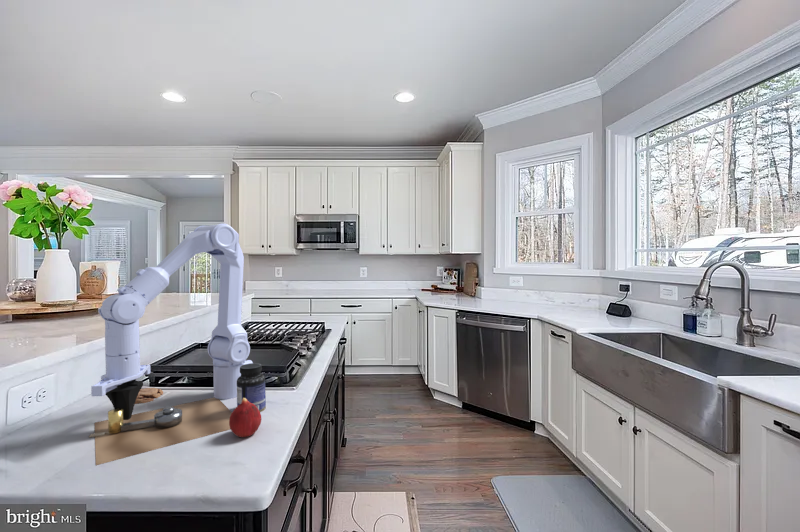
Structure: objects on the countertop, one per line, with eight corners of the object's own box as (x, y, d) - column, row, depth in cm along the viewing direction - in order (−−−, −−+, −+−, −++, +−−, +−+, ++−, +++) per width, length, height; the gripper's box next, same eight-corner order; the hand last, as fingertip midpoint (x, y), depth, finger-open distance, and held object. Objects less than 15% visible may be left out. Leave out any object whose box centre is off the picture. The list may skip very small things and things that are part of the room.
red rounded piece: (267, 434, 77) (267, 394, 77) (247, 447, 72) (247, 405, 72) (244, 430, 79) (243, 391, 79) (222, 443, 74) (222, 401, 74)
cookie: (172, 395, 101) (172, 384, 101) (142, 411, 90) (142, 398, 90) (137, 395, 102) (137, 383, 102) (103, 410, 91) (103, 397, 91)
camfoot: (183, 416, 84) (183, 397, 83) (180, 425, 79) (180, 405, 79) (112, 426, 78) (111, 407, 78) (104, 437, 74) (104, 416, 74)
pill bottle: (270, 408, 91) (269, 362, 91) (259, 419, 85) (258, 369, 85) (244, 408, 91) (244, 362, 91) (231, 418, 85) (231, 369, 85)
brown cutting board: (216, 400, 96) (216, 395, 96) (244, 430, 79) (244, 424, 79) (88, 428, 81) (88, 422, 81) (89, 473, 64) (88, 465, 64)
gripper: (127, 345, 86) (128, 406, 86) (73, 362, 71) (75, 435, 71) (159, 344, 86) (160, 405, 86) (112, 362, 71) (114, 434, 72)
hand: (124, 419), depth 79 cm, fingers closed
